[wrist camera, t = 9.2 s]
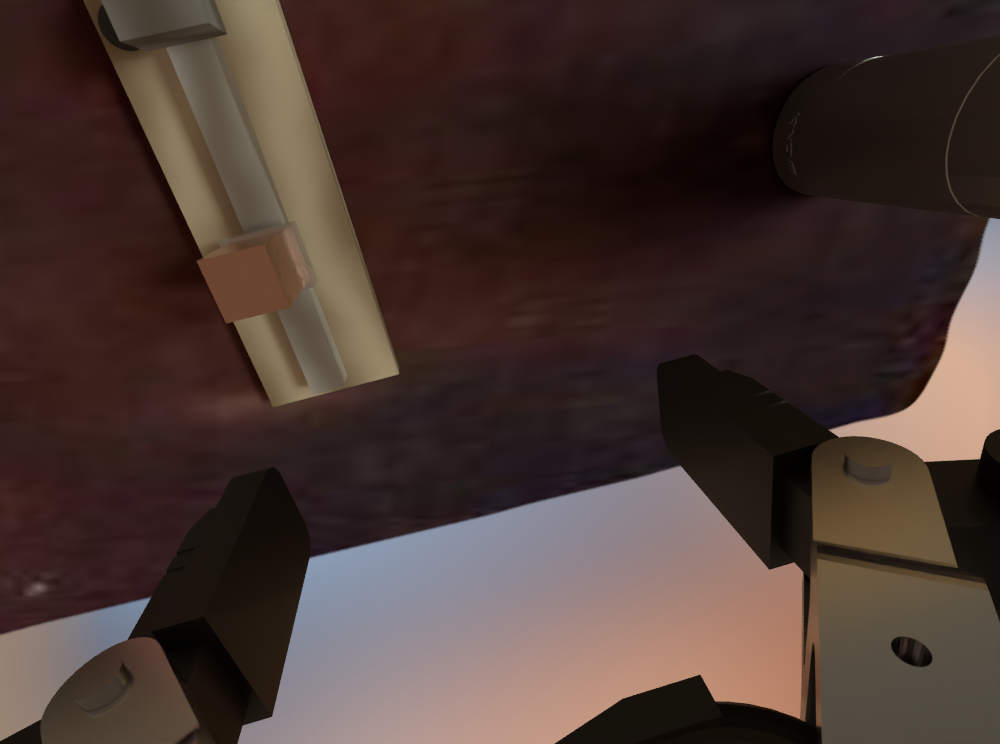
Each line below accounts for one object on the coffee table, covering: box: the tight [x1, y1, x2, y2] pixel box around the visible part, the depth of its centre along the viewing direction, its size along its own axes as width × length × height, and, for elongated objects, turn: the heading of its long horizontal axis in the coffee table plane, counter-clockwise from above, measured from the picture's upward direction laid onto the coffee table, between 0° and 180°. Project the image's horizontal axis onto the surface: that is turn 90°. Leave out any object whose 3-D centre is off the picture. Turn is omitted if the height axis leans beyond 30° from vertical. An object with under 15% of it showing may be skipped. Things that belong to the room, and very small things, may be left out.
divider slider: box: [197, 221, 318, 323], centre depth 31 cm, size 4×4×9 cm
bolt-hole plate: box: [83, 0, 399, 407], centre depth 32 cm, size 10×30×6 cm, turn 12°
